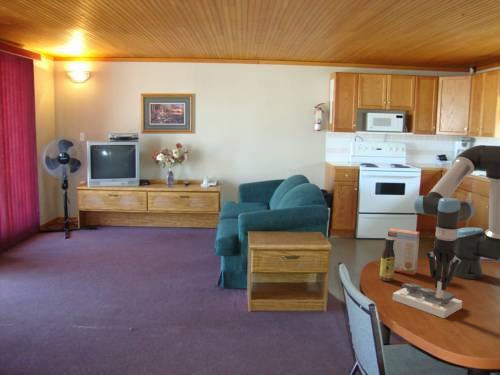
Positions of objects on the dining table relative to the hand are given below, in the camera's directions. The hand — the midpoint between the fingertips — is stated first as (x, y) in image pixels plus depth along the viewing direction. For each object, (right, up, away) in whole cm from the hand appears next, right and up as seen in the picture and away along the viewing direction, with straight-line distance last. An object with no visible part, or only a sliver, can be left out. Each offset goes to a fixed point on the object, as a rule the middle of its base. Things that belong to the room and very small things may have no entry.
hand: (439, 297), depth 171 cm
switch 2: (+3, -1, +3) cm, 4 cm away
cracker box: (+1, +1, +48) cm, 48 cm away
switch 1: (-6, 0, +13) cm, 15 cm away
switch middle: (-1, -1, +8) cm, 8 cm away
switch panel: (-2, -5, +9) cm, 10 cm away
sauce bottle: (-10, -1, +36) cm, 37 cm away
